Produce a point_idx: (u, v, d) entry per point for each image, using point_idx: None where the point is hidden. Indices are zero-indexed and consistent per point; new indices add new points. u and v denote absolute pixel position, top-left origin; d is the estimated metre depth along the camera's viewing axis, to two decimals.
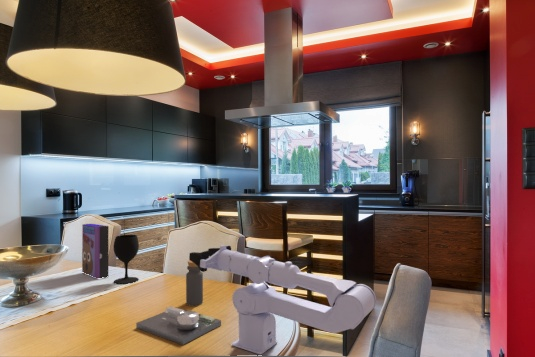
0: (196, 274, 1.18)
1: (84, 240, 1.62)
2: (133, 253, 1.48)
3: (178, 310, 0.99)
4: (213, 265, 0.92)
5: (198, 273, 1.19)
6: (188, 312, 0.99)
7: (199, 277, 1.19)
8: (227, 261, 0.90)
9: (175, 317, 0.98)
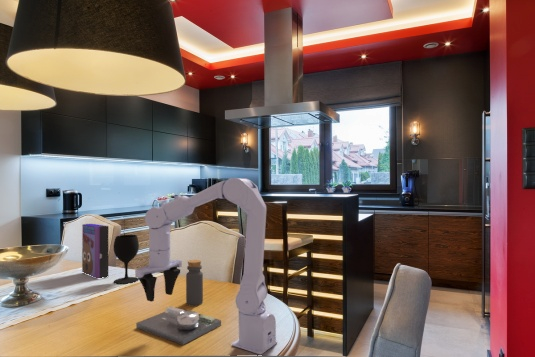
0: (196, 274, 1.18)
1: (84, 240, 1.62)
2: (133, 253, 1.48)
3: (178, 310, 0.99)
4: None
5: (198, 273, 1.19)
6: (188, 312, 0.99)
7: (199, 277, 1.19)
8: (150, 252, 0.94)
9: (175, 317, 0.98)
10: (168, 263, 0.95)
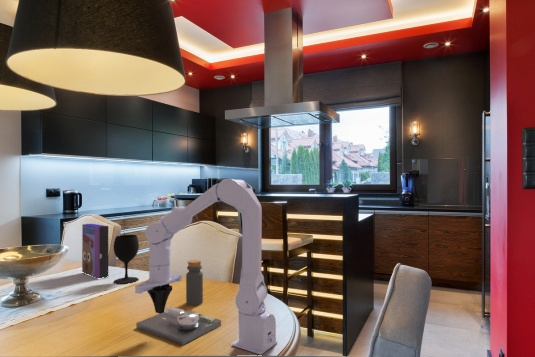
0: (196, 274, 1.18)
1: (84, 240, 1.62)
2: (133, 253, 1.48)
3: (178, 310, 0.99)
4: None
5: (198, 273, 1.19)
6: (188, 312, 0.99)
7: (199, 277, 1.19)
8: (150, 267, 0.94)
9: (175, 317, 0.98)
10: (168, 278, 0.95)
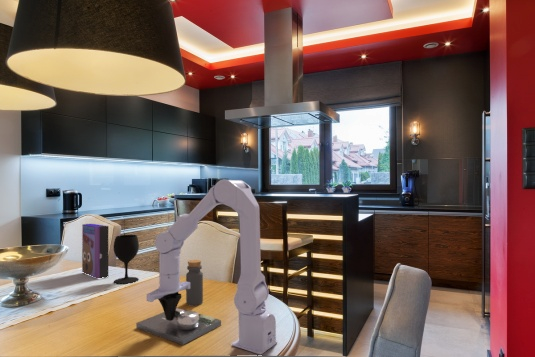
0: (196, 274, 1.18)
1: (84, 240, 1.62)
2: (133, 253, 1.48)
3: (178, 310, 0.99)
4: (162, 293, 0.95)
5: (198, 273, 1.19)
6: (188, 312, 0.99)
7: (199, 277, 1.19)
8: (160, 276, 0.96)
9: (175, 317, 0.98)
10: (178, 286, 0.97)
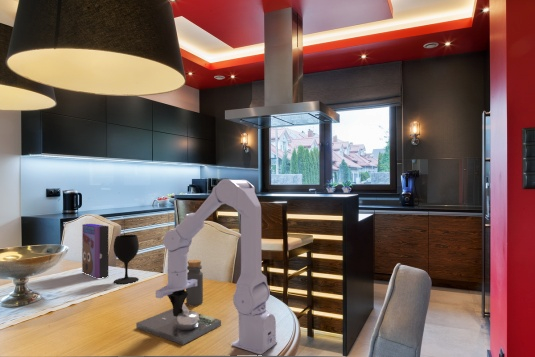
0: (196, 274, 1.18)
1: (84, 240, 1.62)
2: (133, 253, 1.48)
3: (184, 308, 1.00)
4: None
5: (198, 273, 1.19)
6: (192, 312, 0.99)
7: (199, 277, 1.19)
8: (168, 273, 0.99)
9: None
10: (186, 283, 1.00)
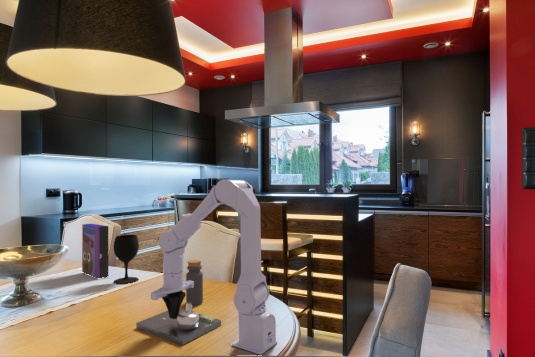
0: (196, 274, 1.18)
1: (84, 240, 1.62)
2: (133, 253, 1.48)
3: (187, 308, 1.00)
4: None
5: (198, 273, 1.19)
6: (193, 312, 0.98)
7: (199, 277, 1.19)
8: (164, 275, 0.98)
9: None
10: (181, 285, 0.99)
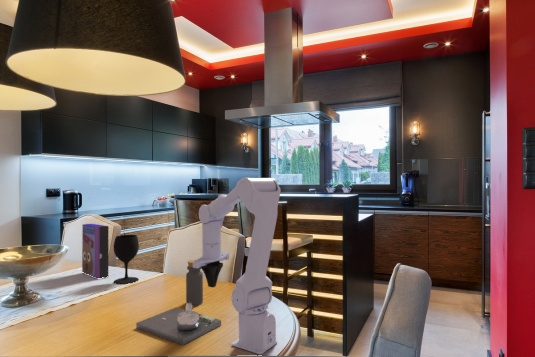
0: (196, 274, 1.18)
1: (84, 240, 1.62)
2: (133, 253, 1.48)
3: (187, 308, 1.00)
4: None
5: (198, 273, 1.19)
6: (193, 312, 0.98)
7: (199, 277, 1.19)
8: (203, 246, 1.03)
9: None
10: (220, 255, 1.04)
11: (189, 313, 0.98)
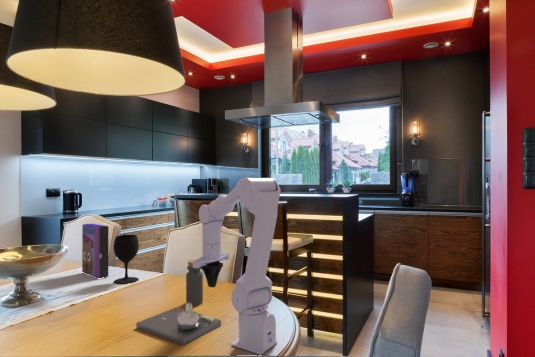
0: (196, 274, 1.18)
1: (84, 240, 1.62)
2: (133, 253, 1.48)
3: (187, 308, 1.00)
4: None
5: (198, 273, 1.19)
6: (193, 312, 0.98)
7: (199, 277, 1.19)
8: (203, 246, 1.03)
9: None
10: (220, 255, 1.04)
11: (189, 313, 0.98)
